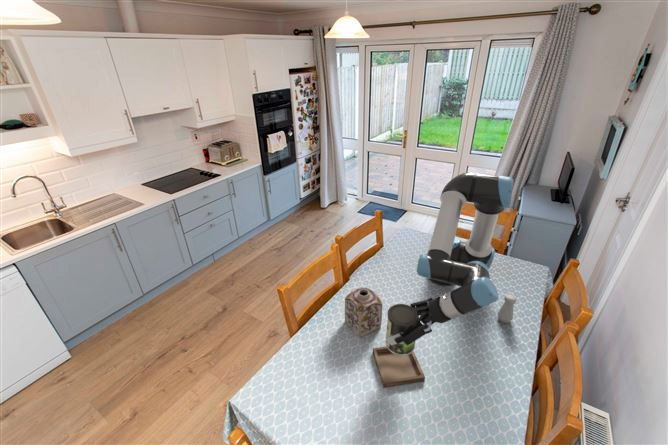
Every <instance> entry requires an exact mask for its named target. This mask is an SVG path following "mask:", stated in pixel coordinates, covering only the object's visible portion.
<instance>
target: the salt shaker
mask: <svg viewBox="0 0 668 445" xmlns="http://www.w3.org/2000/svg"><path fill="white" fill-rule="evenodd" d="M516 303H517V298H516V296H514V295H513V294H510V293H509V294H506V295H505V296H504V302H503V303H502V305H501V307H500V308H499V310H498V312H497V318H498V321H499V322H500V323H502V324H509V322H512V320H513V318H514V308H515V306H514V305H515V304H516Z"/></svg>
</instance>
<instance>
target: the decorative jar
mask: <svg viewBox="0 0 668 445" xmlns="http://www.w3.org/2000/svg"><path fill="white" fill-rule="evenodd" d="M382 318H383V302H382V300H381V299H380V297H379V296H378V294H377V293H376V292H375V291H374V290H373V289H372V288H368V287H361V286H359V287H357V288H355V289H351V291H350V292H349V293H348V294H347V295H346V296H345V298H344V321H345V323H346V324H347V325H348V326H349V328H350V329H351V330H352V331H353V332H354V333H355V335H356V336H357V337H358V338H362V337H364V336H366V335H368V334H370V333H372V332H374V331H375V330H378V329H381V327H382V323H383V322H382V321H383V319H382Z"/></svg>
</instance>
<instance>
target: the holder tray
mask: <svg viewBox="0 0 668 445" xmlns="http://www.w3.org/2000/svg"><path fill="white" fill-rule="evenodd" d="M372 354H373V358H374V361H375V364H376V368H377V372H378V374H379V377H380V381H381V385H382V388H383V389H386V388H392V387H398V386H404V385H411V384H417V383H424V382H425V380H426V375H425V374H424V371H423V369H422V367H421V364H420V362H419V360H418V358H417V356H416V353H415V351H414V350H413V352H412V353H411V354H409V355H406V356H399V355H396V354H393V353H392V352H391V351H389V350H388V348H387V346H386V345H385V346H380V347H379V346H378V347H373V348H372Z"/></svg>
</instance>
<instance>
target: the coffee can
mask: <svg viewBox="0 0 668 445" xmlns="http://www.w3.org/2000/svg"><path fill="white" fill-rule="evenodd" d="M419 317H420V315H418V312H417V311H416V310H415V309H414V308H413V307H411V306H410V305H409V304H405V303H397V304H394V305H392V306H390V307H389V308H388V310H387V322H386V323H387V324H386V333H385V335H386V336H385V346H387V348H388V350H389V351H391V352H392V353H393V354H396V355H399V356H406V355H409V354H411V353H412V352H413V351H414V350H415V347H416V346H415V345H416V341H414V342H412V343H411V344H409V345H406V344H405V343H404V342H401V343H398V344H394V345H392V346H391V345H390V344H389V343H388V341H387V340H386V339H387V338H389V337H391V336H394V335H396V334H399V333H401V332H402V333H404V332H405V331H406V330H408V329H409V328H410V327H411V326H412V325H413V324H415V323H416V322H417V321H416V320H417V319H418V318H419Z"/></svg>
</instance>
